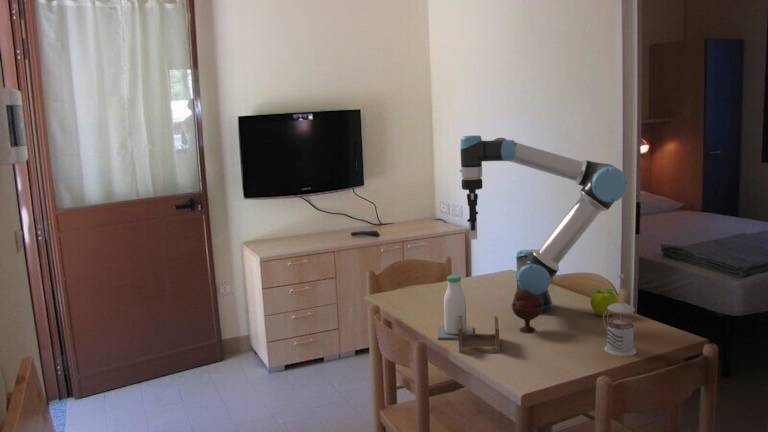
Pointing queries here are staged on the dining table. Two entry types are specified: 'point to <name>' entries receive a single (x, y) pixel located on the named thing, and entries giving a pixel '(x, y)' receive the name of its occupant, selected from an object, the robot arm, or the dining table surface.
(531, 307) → the ice cream bowl
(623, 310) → the french press
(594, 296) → the fruit
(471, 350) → the cradle
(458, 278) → the milk bottle
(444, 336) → the coaster
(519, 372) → the dining table surface
